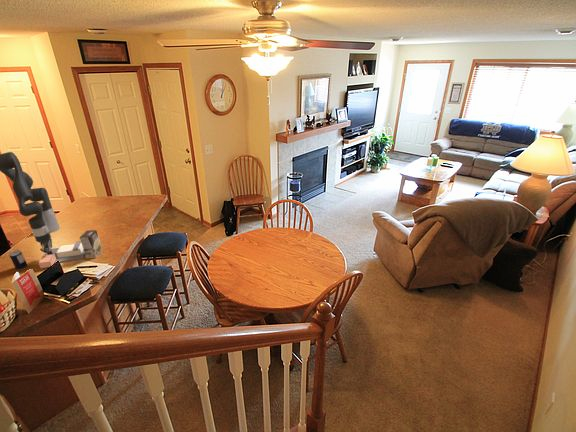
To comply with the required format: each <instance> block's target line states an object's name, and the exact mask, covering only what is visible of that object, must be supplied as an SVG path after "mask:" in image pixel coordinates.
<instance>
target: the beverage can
mask: <svg viewBox="0 0 576 432" xmlns="http://www.w3.org/2000/svg"><path fill="white" fill-rule="evenodd" d="M8 254H9V255H8V256H9V258H10V260H11V261H12V264H13V266H14V268H15V270H19V271H21V270H25V269H26V268H27V267H28V263H27V261H26V259H25V256H24V255H23V254H24V253H22V251H21V250H20V249H13V250H10V252H9V253H8Z"/></svg>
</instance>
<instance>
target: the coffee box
mask: <svg viewBox="0 0 576 432" xmlns="http://www.w3.org/2000/svg"><path fill="white" fill-rule="evenodd" d="M79 241H81V243H82V246H83V249H84V252H85V257H86V259H96V258H97V257H98V256H99V255H100V254H101V253H102V252H103V247H102V244H101V240H100V237H99V234H98V231H97V230H96V229H91V230H90V229H89V230H86V231H85V232H83V234H82V235H80V237H79Z"/></svg>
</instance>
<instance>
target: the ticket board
mask: <svg viewBox="0 0 576 432" xmlns="http://www.w3.org/2000/svg"><path fill="white" fill-rule="evenodd" d="M51 249H52V250H51V251H52V253H53V254H54V255H55V257H56V261H60V263H59V264H61V263H68V262H73V261H79V260H80V261H81V260H84V258H85V257H86V255H85V252H84V249H83V246H82V243H81V240H78V241H76V242H75V243H73V244H66V245H59V247H54V248H51ZM45 255H48V254H47V253H45V254H44V255H43V256H45ZM56 261H55V262H56ZM38 266H39V267H40V265H39V264H38Z"/></svg>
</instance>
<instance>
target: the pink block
mask: <svg viewBox="0 0 576 432" xmlns="http://www.w3.org/2000/svg"><path fill="white" fill-rule="evenodd" d="M44 255H45V254H44ZM44 255H42V257H41V258H40V260H39V261H38V266H39V265H40V266H39V267H40V269H46V268H50V266H52V265H53V264H54V263H55V261H56V257H55V255H54V254H51V255H45V256H44ZM55 264H56V263H55ZM55 264H54V265H55ZM54 265H53V266H54ZM53 266H52V267H53Z"/></svg>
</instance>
